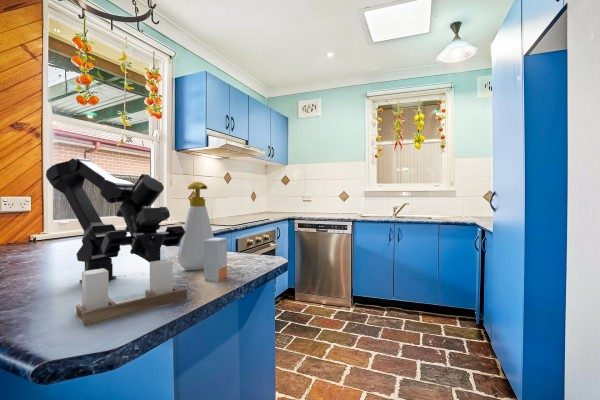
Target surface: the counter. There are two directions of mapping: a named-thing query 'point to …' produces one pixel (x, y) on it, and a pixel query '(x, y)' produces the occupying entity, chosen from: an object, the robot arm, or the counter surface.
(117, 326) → the counter surface
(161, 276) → the white rectangular block
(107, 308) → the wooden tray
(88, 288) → the white tall block
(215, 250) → the skincare box
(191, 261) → the soap bottle
